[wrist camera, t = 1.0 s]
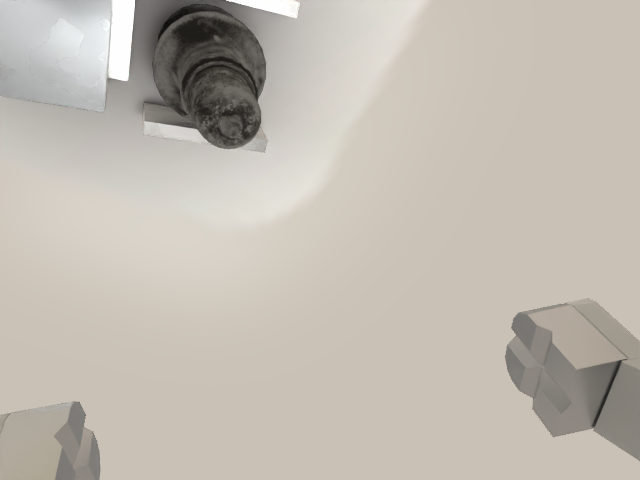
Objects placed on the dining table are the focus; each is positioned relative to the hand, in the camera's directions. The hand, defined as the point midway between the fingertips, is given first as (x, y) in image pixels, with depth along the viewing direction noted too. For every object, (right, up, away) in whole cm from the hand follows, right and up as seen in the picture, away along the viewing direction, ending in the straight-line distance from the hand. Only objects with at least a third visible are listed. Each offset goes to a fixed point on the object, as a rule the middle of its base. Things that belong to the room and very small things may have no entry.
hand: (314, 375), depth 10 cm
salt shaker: (-7, +14, +20) cm, 25 cm away
